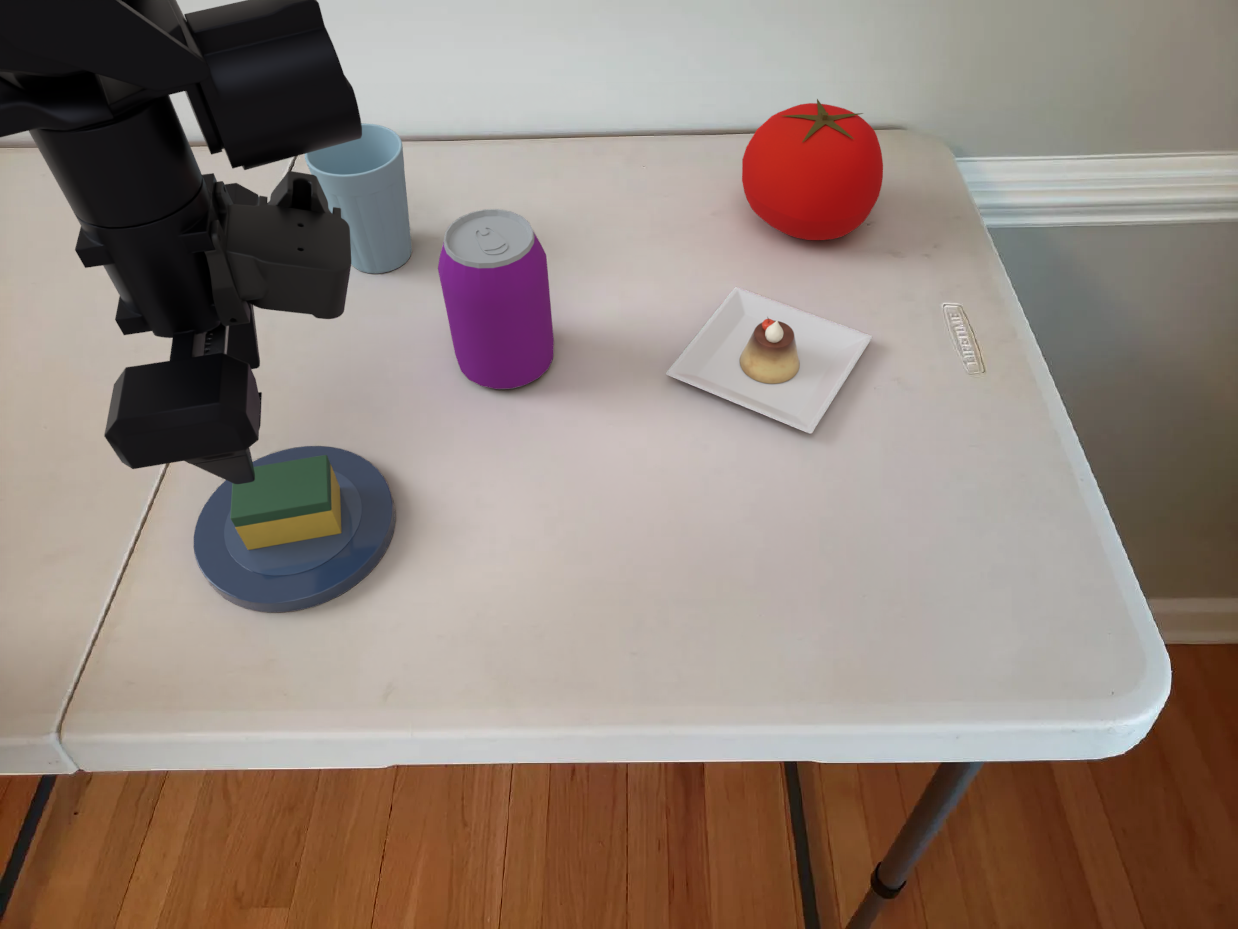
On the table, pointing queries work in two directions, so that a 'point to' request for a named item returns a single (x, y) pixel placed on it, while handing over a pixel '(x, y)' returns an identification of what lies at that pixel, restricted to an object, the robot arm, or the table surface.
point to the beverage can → (497, 298)
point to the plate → (299, 542)
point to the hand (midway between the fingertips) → (248, 421)
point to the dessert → (771, 358)
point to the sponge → (287, 503)
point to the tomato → (813, 171)
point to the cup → (368, 196)
